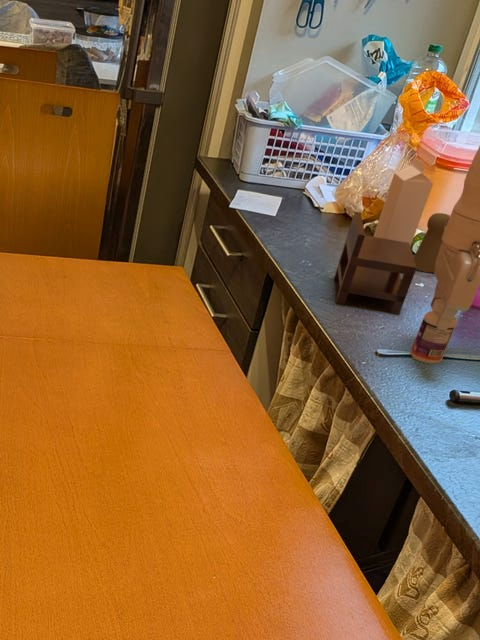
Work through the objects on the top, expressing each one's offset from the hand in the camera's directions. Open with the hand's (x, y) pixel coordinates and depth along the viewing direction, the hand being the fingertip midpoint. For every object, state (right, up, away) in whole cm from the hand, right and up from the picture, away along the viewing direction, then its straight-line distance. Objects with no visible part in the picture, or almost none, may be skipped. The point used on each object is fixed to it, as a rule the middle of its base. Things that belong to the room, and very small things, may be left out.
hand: (438, 318), depth 158 cm
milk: (+6, +22, +38) cm, 45 cm away
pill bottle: (0, -6, +5) cm, 7 cm away
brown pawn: (+18, +26, +44) cm, 55 cm away
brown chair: (-2, +14, +27) cm, 30 cm away
